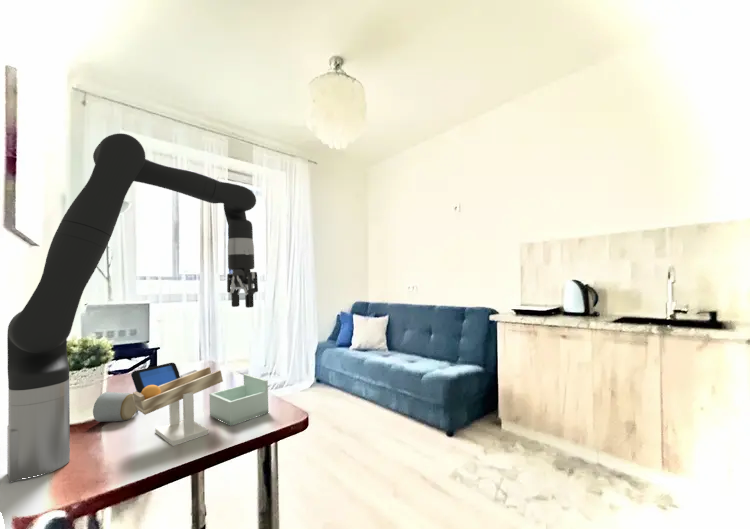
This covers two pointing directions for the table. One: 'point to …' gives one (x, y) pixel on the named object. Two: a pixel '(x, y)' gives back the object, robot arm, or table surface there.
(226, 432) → the table surface
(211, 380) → the chute lever
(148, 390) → the ball
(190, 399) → the chute stand
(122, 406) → the grey canister
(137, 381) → the tablet display
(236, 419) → the bin
